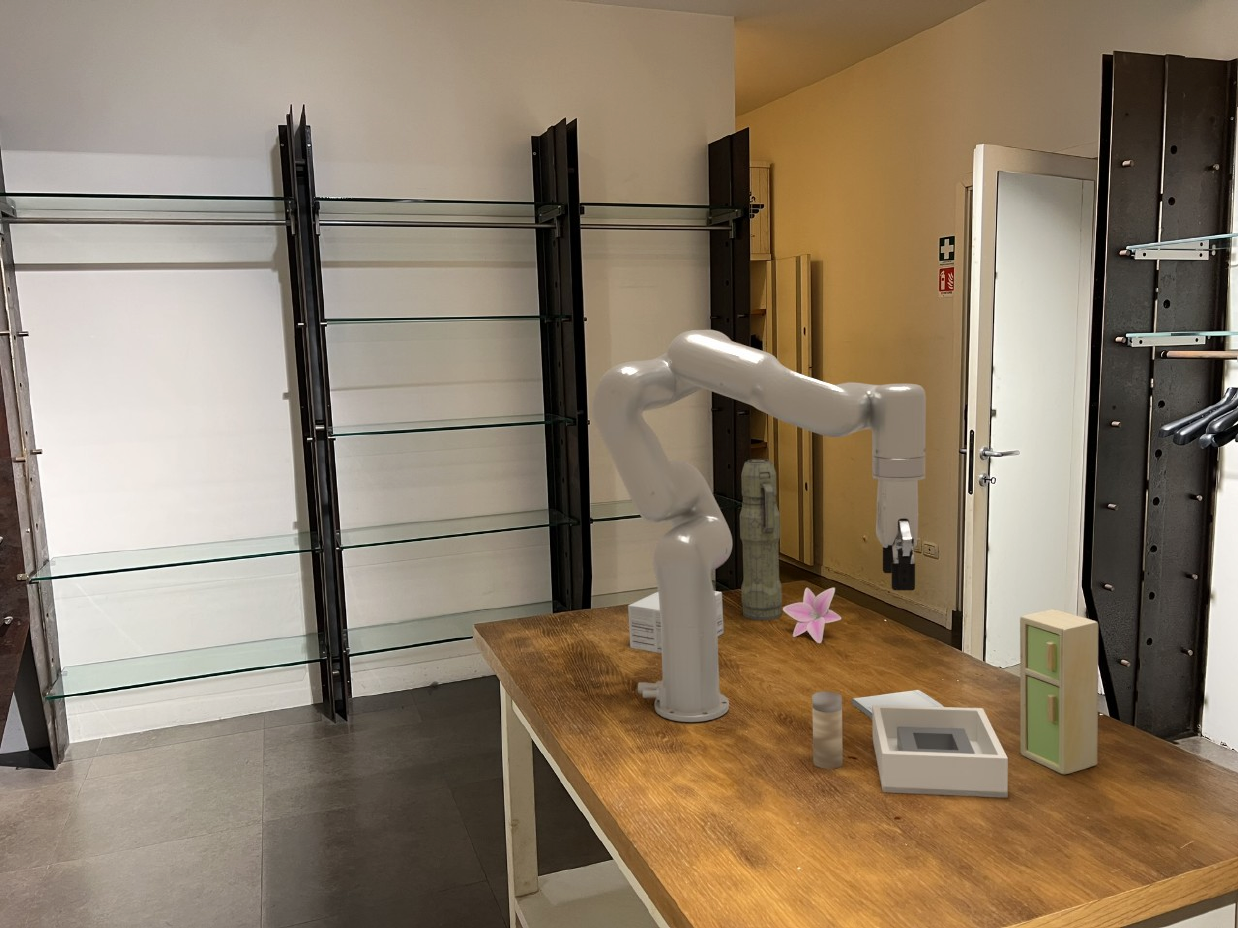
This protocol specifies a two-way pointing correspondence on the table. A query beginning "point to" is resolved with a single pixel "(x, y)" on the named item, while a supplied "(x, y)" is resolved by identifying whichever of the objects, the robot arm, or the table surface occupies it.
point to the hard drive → (894, 701)
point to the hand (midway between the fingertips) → (898, 580)
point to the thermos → (760, 541)
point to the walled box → (938, 751)
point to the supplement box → (656, 622)
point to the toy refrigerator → (1059, 690)
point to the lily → (812, 613)
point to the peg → (827, 730)
